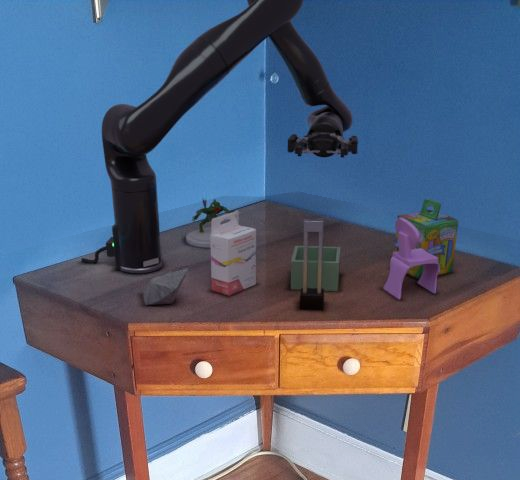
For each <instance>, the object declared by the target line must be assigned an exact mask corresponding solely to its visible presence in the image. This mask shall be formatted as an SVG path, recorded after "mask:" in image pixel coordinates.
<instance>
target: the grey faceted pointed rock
mask: <svg viewBox="0 0 520 480" xmlns="http://www.w3.org/2000/svg"><path fill="white" fill-rule="evenodd" d="M189 269H190V267H186V268H181V269H179V270H176V271H173V270H169V271H166V273H165V274H163V275H159V276H155V277H153V278H151V279H150V280H149V283H148V284H147V286H146V287H145V289H144V292H143V293H142V296H143V301H144V305H145V306H154V305H155V306H156V305H170V304H172V303H173V302H174V301H175V298H176V297H177V294H178V292H179V290H180V288H181V286H182V284H183V281H184V279H186V278H185V277H187V276H186V275H187V273H188V272H189Z"/></svg>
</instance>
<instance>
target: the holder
mask: <svg viewBox="0 0 520 480" xmlns="http://www.w3.org/2000/svg"><path fill="white" fill-rule="evenodd" d="M318 246H319V245H316V246H315V245H314V246H313V245H308V281H307V288H317V284H318ZM341 251H342V247H341V246H323V257H322V289H324V292H338V291H339V284H340V271H341ZM303 256H304V245H295V246H294V248H293V253H292V256H291V259H290V289H291V290H298V291H299V290H300V291H301V288H303Z"/></svg>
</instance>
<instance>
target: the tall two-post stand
mask: <svg viewBox="0 0 520 480" xmlns="http://www.w3.org/2000/svg"><path fill="white" fill-rule="evenodd" d="M324 219H325V218H324V217H310V216H305V217H304V219H303V246H304V256H303V288H301V290H300V292H299V310H302V311H303V310H305V311H306V310H307V311H324V307H325V306H324V305H325V291H324V289H322V257H323V247H324ZM309 233H318V245H317V246H318V284H317V288H307V281H308V246H309Z"/></svg>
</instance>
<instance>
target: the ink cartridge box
mask: <svg viewBox="0 0 520 480" xmlns="http://www.w3.org/2000/svg"><path fill="white" fill-rule="evenodd" d="M234 211H235V212H232V213H225V214H222V215H220V216H216V217H217V218H213V219H212V221H210V228H211V235H210V244H211V248H210V272H211V273H210V274H211V276H210V277H211V291H212V292H215V293H218V294H221V295H225V296H228V297H230V296H232V295H234V294H237V293H239V292H241V291H244V290H246V289H248V288H252V287H253V286H256V285H257V229H256V228H253V227H249V226H244V225H240V224H239V223H240V222H239V219H240V210H234ZM225 220H229V222H228V221H227V222H225V223H222V222H224V221H225ZM220 223H221V224H220Z"/></svg>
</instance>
